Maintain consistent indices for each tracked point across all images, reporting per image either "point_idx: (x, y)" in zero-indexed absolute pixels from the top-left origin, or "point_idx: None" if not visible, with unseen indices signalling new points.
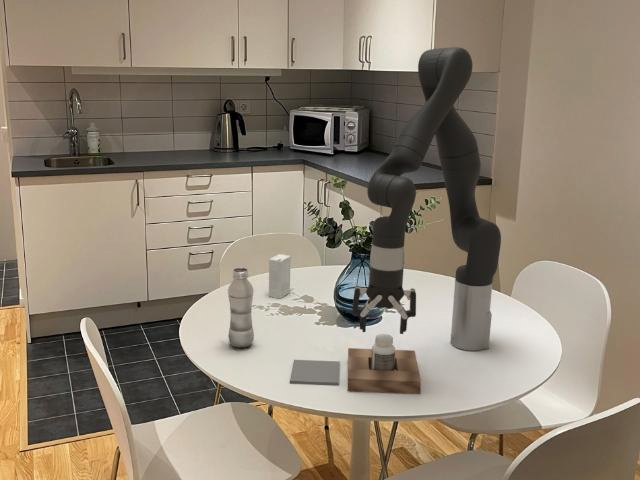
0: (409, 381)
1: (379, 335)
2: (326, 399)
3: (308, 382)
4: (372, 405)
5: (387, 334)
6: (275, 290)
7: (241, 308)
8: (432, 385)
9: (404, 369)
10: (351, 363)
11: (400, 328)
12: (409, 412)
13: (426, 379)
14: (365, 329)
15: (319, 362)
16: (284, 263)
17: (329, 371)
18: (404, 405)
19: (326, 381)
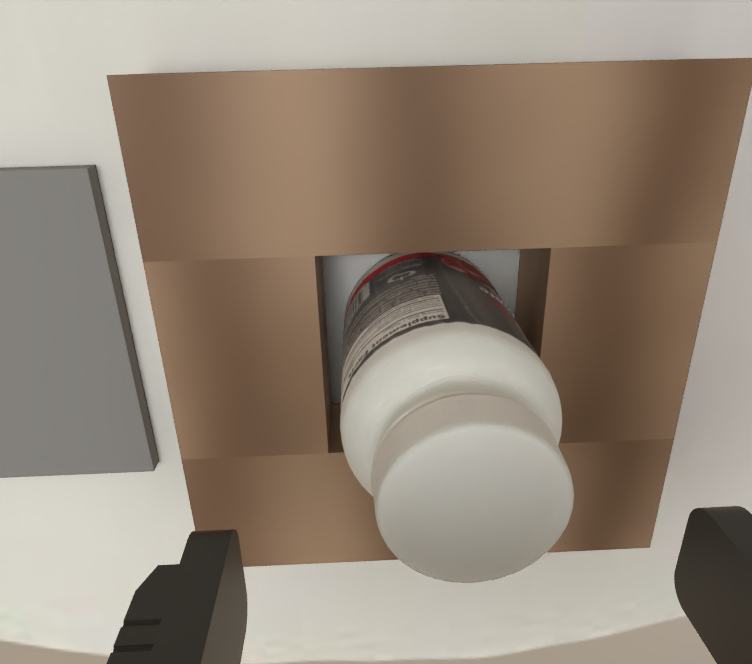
0: (580, 548)
1: (422, 483)
2: (127, 591)
3: None
4: (359, 610)
5: (522, 443)
6: None
7: None
8: (714, 399)
9: (580, 421)
10: (191, 377)
11: (716, 643)
12: (526, 637)
13: (702, 331)
14: (240, 653)
15: None
16: None
17: (56, 342)
18: (513, 593)
19: (75, 465)
